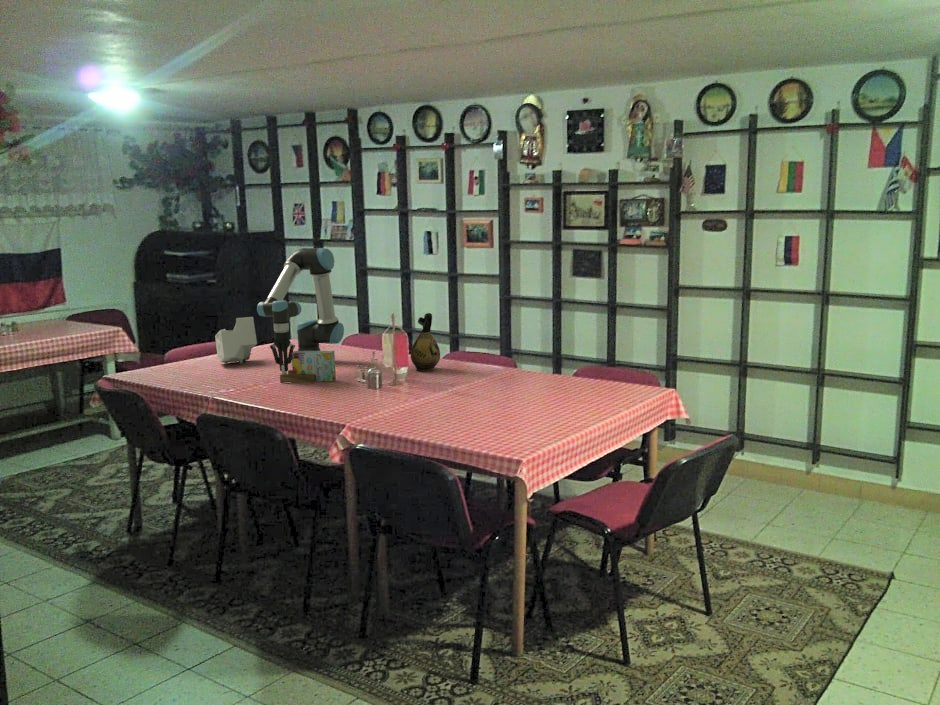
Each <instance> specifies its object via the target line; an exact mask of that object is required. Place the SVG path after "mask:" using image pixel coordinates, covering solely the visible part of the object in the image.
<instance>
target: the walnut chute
mask: <svg viewBox="0 0 940 705" xmlns="http://www.w3.org/2000/svg"><path fill="white" fill-rule="evenodd" d="M279 382H291V383H290V384H316V383H317V381H316V374H293V370H292V369H288V371H287V374H282V373H281V374H279ZM315 382H316V383H315Z"/></svg>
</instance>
